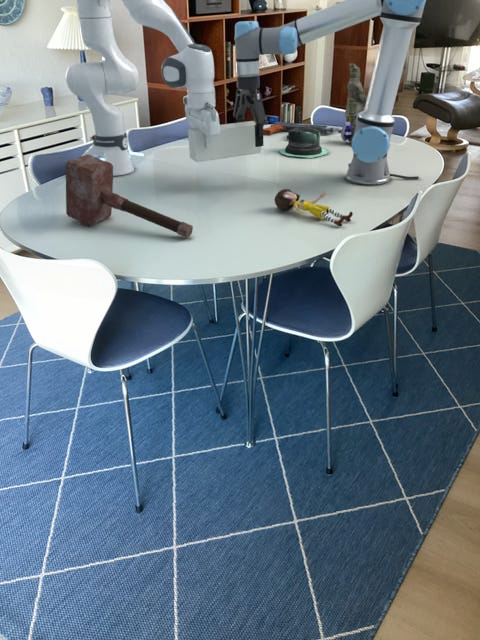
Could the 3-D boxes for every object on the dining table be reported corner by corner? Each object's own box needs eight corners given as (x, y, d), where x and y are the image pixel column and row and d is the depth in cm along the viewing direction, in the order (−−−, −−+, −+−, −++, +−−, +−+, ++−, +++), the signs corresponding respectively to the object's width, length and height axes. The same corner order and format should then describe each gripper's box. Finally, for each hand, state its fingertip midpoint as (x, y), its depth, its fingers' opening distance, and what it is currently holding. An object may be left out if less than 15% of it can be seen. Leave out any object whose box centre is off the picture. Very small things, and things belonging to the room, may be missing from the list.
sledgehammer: (202, 197, 152) (86, 152, 164) (183, 208, 145) (63, 160, 156) (194, 252, 162) (86, 206, 174) (176, 265, 155) (64, 216, 166)
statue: (367, 132, 266) (374, 63, 251) (349, 133, 264) (355, 64, 249) (357, 127, 275) (362, 61, 260) (339, 129, 273) (344, 62, 258)
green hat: (332, 145, 241) (326, 158, 224) (294, 164, 249) (286, 177, 233) (317, 113, 235) (310, 124, 219) (279, 133, 244) (269, 145, 228)
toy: (345, 120, 249) (377, 123, 242) (343, 139, 253) (375, 143, 246) (337, 123, 243) (369, 127, 236) (336, 143, 247) (367, 147, 240)
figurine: (337, 215, 154) (266, 188, 166) (332, 239, 158) (263, 212, 171) (360, 203, 163) (291, 178, 175) (355, 226, 167) (288, 200, 179)
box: (196, 162, 182) (195, 132, 177) (189, 158, 187) (187, 128, 182) (260, 153, 191) (260, 124, 186) (252, 149, 196) (252, 120, 191)
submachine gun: (253, 131, 261) (276, 121, 280) (253, 137, 263) (276, 126, 281) (316, 137, 247) (336, 126, 266) (315, 143, 249) (335, 132, 267)
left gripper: (224, 105, 170) (225, 151, 177) (198, 95, 186) (200, 138, 193) (205, 107, 168) (207, 153, 175) (181, 97, 183) (183, 140, 190)
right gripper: (277, 77, 171) (277, 147, 182) (241, 71, 191) (243, 134, 201) (255, 80, 168) (257, 151, 179) (221, 73, 188) (224, 137, 199)
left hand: (203, 145), depth 184 cm, fingers closed on box, 6 cm apart
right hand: (250, 142), depth 190 cm, fingers open, 13 cm apart
